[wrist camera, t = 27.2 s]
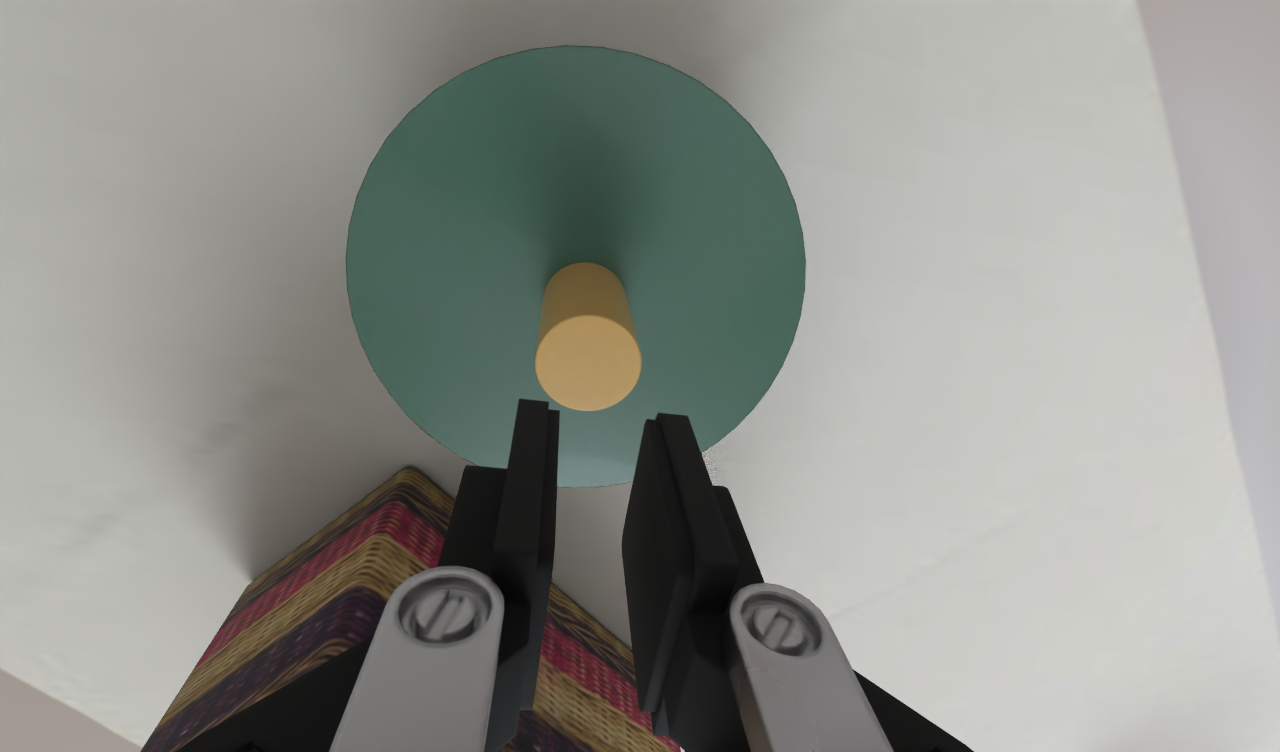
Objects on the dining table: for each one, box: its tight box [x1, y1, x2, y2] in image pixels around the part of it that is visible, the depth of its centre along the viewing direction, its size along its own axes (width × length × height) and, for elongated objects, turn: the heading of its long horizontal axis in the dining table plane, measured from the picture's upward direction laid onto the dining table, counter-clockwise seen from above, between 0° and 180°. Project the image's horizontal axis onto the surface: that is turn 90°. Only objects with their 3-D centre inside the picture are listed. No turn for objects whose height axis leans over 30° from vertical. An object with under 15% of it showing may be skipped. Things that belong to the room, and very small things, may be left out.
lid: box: [346, 45, 806, 488], centre depth 19 cm, size 15×15×6 cm
